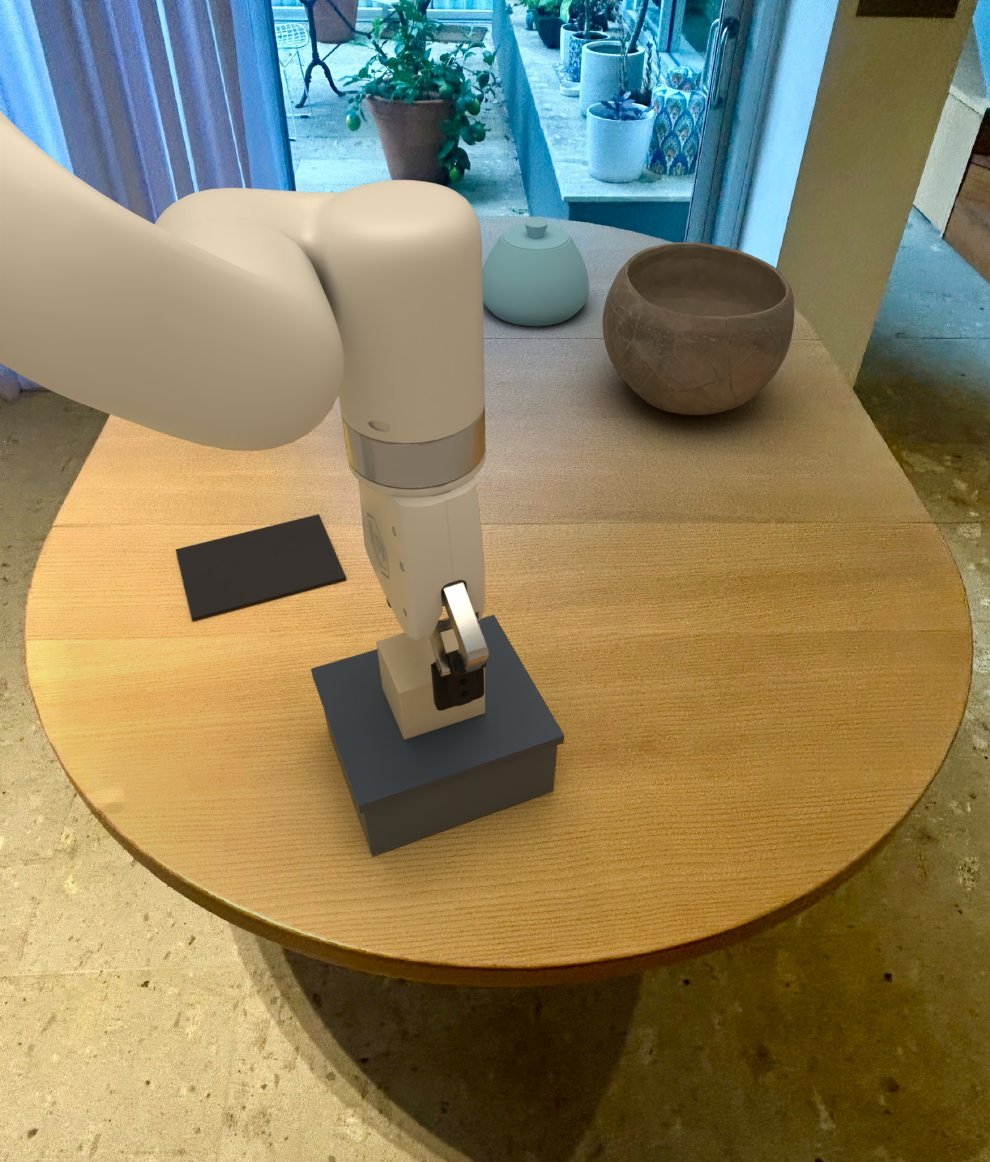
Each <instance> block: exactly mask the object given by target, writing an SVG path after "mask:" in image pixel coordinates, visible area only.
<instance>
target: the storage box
mask: <svg viewBox="0 0 990 1162" xmlns="http://www.w3.org/2000/svg"><path fill="white" fill-rule="evenodd" d="M478 623H479V626H480V628H481V631H482V634H483V636H484V639H485V642H486V644H487V647H488V651H489V658H488V661H486V667H485V713H484V714H482V715H479V716H476V717H472V718H469V719H466V720H463V721H460V722H457V723H454V724H451V725H448V726H445V727H442V728H439V729H436V730H433V731H430V732H427V733H424V734H421V735H418V736H414V737H411V738H408V739H405V740H404V738H403V736H402V734H401V731H400V729H399V726H398V724H397V722H396V719H395V717H394V715H393V712H392V710H391V707H390V705H389V703H388V700H387V698H386V695H385V693H384V691H383V688H382V681H381V673H380V665H379V658H378V650H377V648H376V649H373V650H370V651H366V652H363V653H359V654H356V655H351V656H349V657H346V658H342V659H339V660H336V661H332V662H329V663H328V662H327V663H325V664H321V665H318V666H315V667H311V668H310V672H311V677H312V679H313V682H314V685H315V688H316V691H317V694H318V697H319V700H320V702H321V705H322V709H323V712H324V718H325V722H326V727H327V731H328V733H329V737H330V739H331V742H332V745H333V748H334V751H335V754H336V757H337V760H338V763H339V765H340V768H341V771H342V774H343V777H344V780H345V783H346V786H347V788H348V792H349V794H350V797H351V800H352V804H353V806H354V809H355V812H356V815H357V818H358V820H359V823H360V827H361V829H362V832H363V835H364V838H365V840H366V844H367V847H368V849H369V852H370V855H371V857H377V856H378V855H381V854H384V853H387V852H389V851H391V850H394V849H398V848H400V847H404V846H406V845H409V844H411V843H414V842H417V841H420V840H422V839H426V838H427V837H431V836H434V835H436V834H439V833H443V832H445V831H447V830H450V829H453V828H456V827H458V826H462V825H464V824H466V823H469V822H473V821H474V820H477V819H481V818H483V817H485V816H489V815H491V814H495V813H496V812H499V811H502V810H505V809H508V808H511V807H513V806H516V805H519V804H521V803H524V802H528V801H529V800H533V799H535V798H538V797H541V796H543V795H547V794H549V793H552V792H554V791H555V780H556V778H555V777H556V767H557V757H558V746H560V745H563V744H565V743H564V742H565V734H564V732H563V730H562V728H561V726H560V725H559V724H558V722H557V719H555V716H554V715H553V713H552V712H551V710H550V708H549V706H548V705H547V703H546V702H545V700H544V698H543V696H542V695H541V692H540V690H539V689H538V688H537V685H536V684H535V682H534V680H533V679H532V677H531V676H530V674H529V672H528V670H527V668H526V667H525V665H524V664H523V661H522V660H521V659H520V657H519V655H518V653H517V651H516V650H515V648H514V647H513V645H512V643H511V641H510V639H509V637H508V636H507V634H506V633H505V630H504V629H503V627H502V625H501V624H500V622H499V620H498V619H497V617H496V616H495V614H491V615H488V616H484V617H482V618H481V619H480V621H479V622H478Z"/></svg>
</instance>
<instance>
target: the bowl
mask: <svg viewBox="0 0 990 1162" xmlns="http://www.w3.org/2000/svg"><path fill="white" fill-rule="evenodd" d="M794 324H795V300H794V294H793V289H792V287H791V285H790V284H789V282H788V280H787V279H786V277H785V275H784V274H783V273H782V272H781V271H780V270H779V269H778V268H776V267H775V266H774V265H772V264H770V263H768V261H767V262H766V261H765V260H763V259H760V258H759V257H756V256H754V255H752V254H749V253H746V252H744V251H741V250H739V249H736V248H733V247H732V248H731V247H728V246H723V245H717V244H711V243H705V242H692V241H686V242H685V241H683V242H679V241H678V242H669V243H663V244H658V245H655V246H651V247H647V248H645V249H643V250H640V251H639V252H637V253H635V254H634V255H632V256H631V257H630V258H629V259H628V260H627V261H626V262H625V263H624V265H623V266H622V267H621V268H620V269H619V270H618V271H617V274H616V276H615V278H614V280H613V281H612V283H611V285H610V288H609V290H608V293H607V295H606V299H605V302H604V307H603V313H602V336H603V340H604V341H603V342H604V344H605V349H606V352H607V355H608V358H609V360H610V363H611V365H612V366H613V368H614V369H615V371H616V372H617V374H618V376H619V377H620V378H621V379H622V380H623V381H624V382H625V383H626V384H627V386H628V387H630V388H631V390H632V391H633V392H634V393H635V394H636V395H637V396H638V397H640V398H641V399H642V400H643V401H644V402H646V403H647V404H648V405H651V406H653V407H655V408H657V409H659V410H662V411H664V412H668V413H671V414H672V413H673V414H678V415H686V416H704V415H705V416H707V415H714V414H715V415H716V414H720V413H724V412H728V411H731V410H733V409H735V408H737V407H740V406H742V405H744V404H745V403H747V402H749V401H750V400H752V399H753V398H754V397H755V396H756V395H758V394H759V393H760V392H762V390H763V389H764V388H765V387H766V386H768V384H769V383H770V382H771V380H772V379H773V378H775V376H776V374H777V373H778V371H779V370H780V368H781V367H782V365H783V363H784V361H785V359H786V357H787V354H788V352H789V349H790V346H791V342H792V336H793V333H794V332H793V331H794V326H795V325H794Z"/></svg>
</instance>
